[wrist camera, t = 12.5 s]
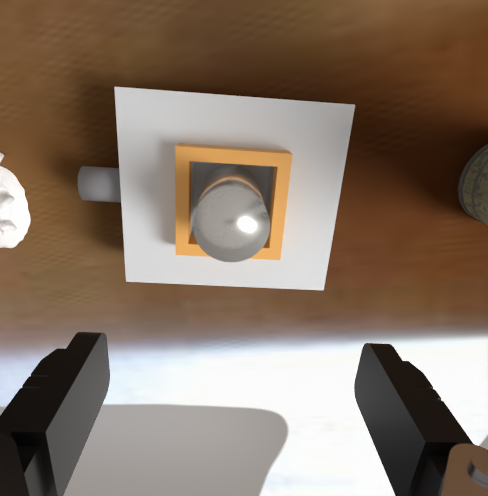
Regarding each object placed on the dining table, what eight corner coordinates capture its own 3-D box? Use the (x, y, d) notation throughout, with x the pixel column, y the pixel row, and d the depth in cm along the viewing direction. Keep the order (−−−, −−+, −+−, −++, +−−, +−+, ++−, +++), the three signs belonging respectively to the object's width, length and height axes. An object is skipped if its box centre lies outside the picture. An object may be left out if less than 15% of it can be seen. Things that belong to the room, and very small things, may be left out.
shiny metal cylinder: (260, 165, 32) (273, 191, 22) (256, 219, 34) (267, 263, 24) (203, 162, 31) (193, 187, 22) (202, 216, 33) (192, 261, 24)
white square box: (334, 104, 33) (364, 104, 25) (310, 263, 39) (329, 301, 31) (88, 85, 32) (45, 81, 24) (102, 253, 38) (71, 290, 30)
